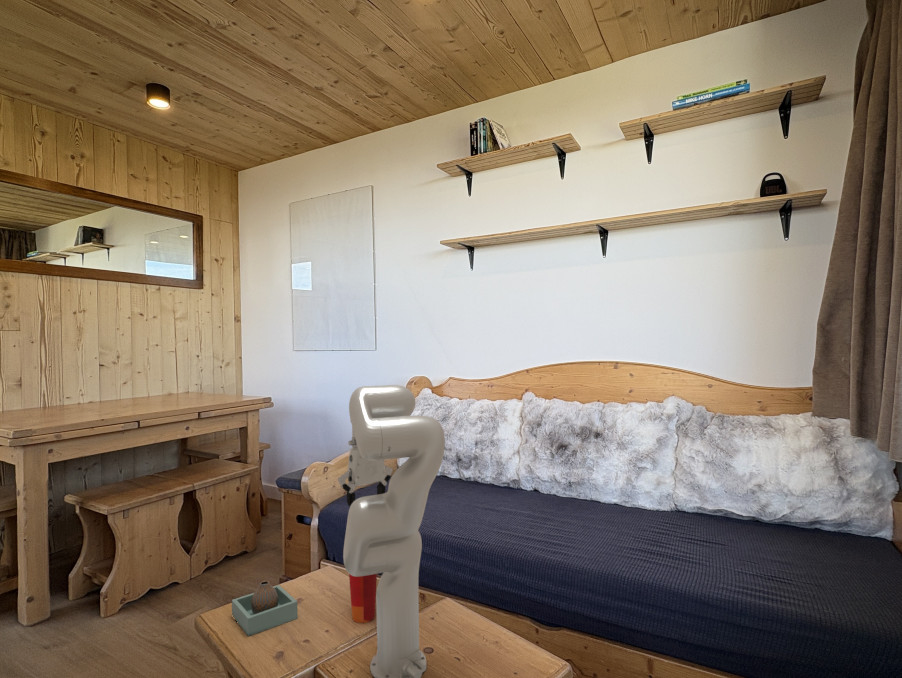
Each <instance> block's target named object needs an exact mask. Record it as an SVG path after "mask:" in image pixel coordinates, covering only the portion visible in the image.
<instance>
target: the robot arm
mask: <svg viewBox="0 0 902 678" xmlns="http://www.w3.org/2000/svg"><path fill="white" fill-rule="evenodd" d="M349 398H350V399H349V403H348V411H349V412H348V413H349V418H350V423H351V427H352V428H351V436H352V437H351V439H350V440H348V443H347V444H348V446H351V448H350V450H349V456H348V462H347V471H345V472H344V473H342V474H341V475H340V476H339V477H337V481H338V484H339V485H340V487H341V488H342V489H343V491H344V492H346V504H347V505H348V506H349V509H348V514H347V519H346V520H347V521H346V529H345V535H344V542H343V543H344V544H343V550H342V551H343V554H342V555H343V556H342V559H343V564H344V568H345V570H346V571H347V573H348V575H349V574H350V575H352V576H355V577H360V576H367V575H372V574H377V575H378V574H381V576H380V579H379V580H378V584H377V585H376V606H375V613H376V654H375V655H373V657H372V659H371V660H370V664H369V667H370V668H369V669H370V673H371V675H372V676H373V677H374V678H422V677H423V673H424V672H426V671H427V668H428V666H427V658H426V655H425V654H424V652H423V651H422V650H420V615H419V612H420V610H419V608H420V607H419V572H420V565H421V564H420V563H421V556H422V548H423V543H422V541H423V540H422V536H421V533H420V531H419V530H420V529H419V528H420V526H421V524H422V522H423V517H424V513H425V510H426V505H427V501H428V497H429V494H430V493H429V492H430V489H431V488H432V487H431V486H432V484H433V482H434V481H435V479H436V477H437V476H438V473H439V471H440V469H441V465H442V463H443V460H444V455H445V446H446V445H445V442H446V441H445V440H446V439H445V432H444V429H443V425H442V424H441V422H440V421H439V420H437V419H436V418H434V417H431V416H428V415H415V414H414V415H412V414H413V413H414V410H415V408H416V398H415V396H414V393H413V392H412V391H411V390H410V389H409V388H407V387H405V386H403V385H398V384H387V385H386V384H384V385H383V384H382V385H366V386H364V385H363V386H359V387H357V388H355V390H354V391H353V392H352V394H351V396H350V397H349ZM404 458H408V459H406V460H405V461H404V462H403V463H402V464H401V465H400V466H399V467H398V468H397V469H396V470H395V471H394V473H393V468H392V467H389V466H387V465H385V464H386V463H385V460H396V459H404ZM392 473H393V474H392ZM346 480H348V483H346ZM388 482H389V483H388ZM374 483H378V484H377V485H376V494H373V495H365V496H360V497H359V498H356V493H355V490H356V488H357V486H358V487H359V486H360V487H361V486H365V485H366V486H367V485H370V484H374ZM387 485H388V487H387V491H386V486H387Z"/></svg>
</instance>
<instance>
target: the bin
mask: <svg viewBox="0 0 902 678" xmlns="http://www.w3.org/2000/svg"><path fill="white" fill-rule="evenodd" d="M272 587H273V588H274V589H275V590H276V592H277V594H278V606H277V607H275V608H272V609H269V610H266V611H263V612H260V613H257V614H253V612H252V609H251V600H252V596H253V594H254V592H253V593H249V594H245V595H243V596H240V597H237V598H233V599H232V600H231V616H232V615H233V617H234V618H235V620H236V621H237V622H238V623H237V622H236V621H235V620H234V621H235V622H236V623H237V625H238V624H239V625H240V626H241V627H240V626H239V625H238V626H239V627H240V628H241V630H242V629H243V630H242V631H243V632H244V634H246V636H247V637H248V638H249V637H252V636H253V635H256V634H259V633H263V632H264V631H267V630H270V629H273V628H276V627H278V626H280V625H284V624H287V623H289V622H291V621H294V620H297V619H298V617H299V616H298V601H297V599H295V598H294V597H293V596H292V595H291V594H289V593H288V591H286V590H285V589H284V588H283V587H282V586H281V585H280V584H277V585H273V586H272ZM233 617H232V618H233Z"/></svg>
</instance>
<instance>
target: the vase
mask: <svg viewBox="0 0 902 678" xmlns="http://www.w3.org/2000/svg"><path fill="white" fill-rule="evenodd" d="M273 587H274V586H273V585H272V584H271V583H270V581H269V580H263V581H260V582H259V585H258V587H257V588H256V589H255V591H254V592H253V593H254V594H253V596H252V600H251V609H252V612H253V614H257V613H260V612H263V611H266V610H269V609H272V608H275V607H277V606H278V594H277V592H276V590H275V589H274V588H273Z"/></svg>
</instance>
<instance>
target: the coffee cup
mask: <svg viewBox="0 0 902 678" xmlns="http://www.w3.org/2000/svg"><path fill="white" fill-rule="evenodd" d="M348 575H349V576H348V578H349V580H348V581H349V591H350V604H351V616H352V620H353V622H354V623H357V624H367V623H369V622H371V621H373V620H374V619H375V617H376V591H377V579H378V578H377V577H378V576H377V575H378V574H372V575H367V576H360V577H355V576H352V575H350V574H349V573H348Z"/></svg>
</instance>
